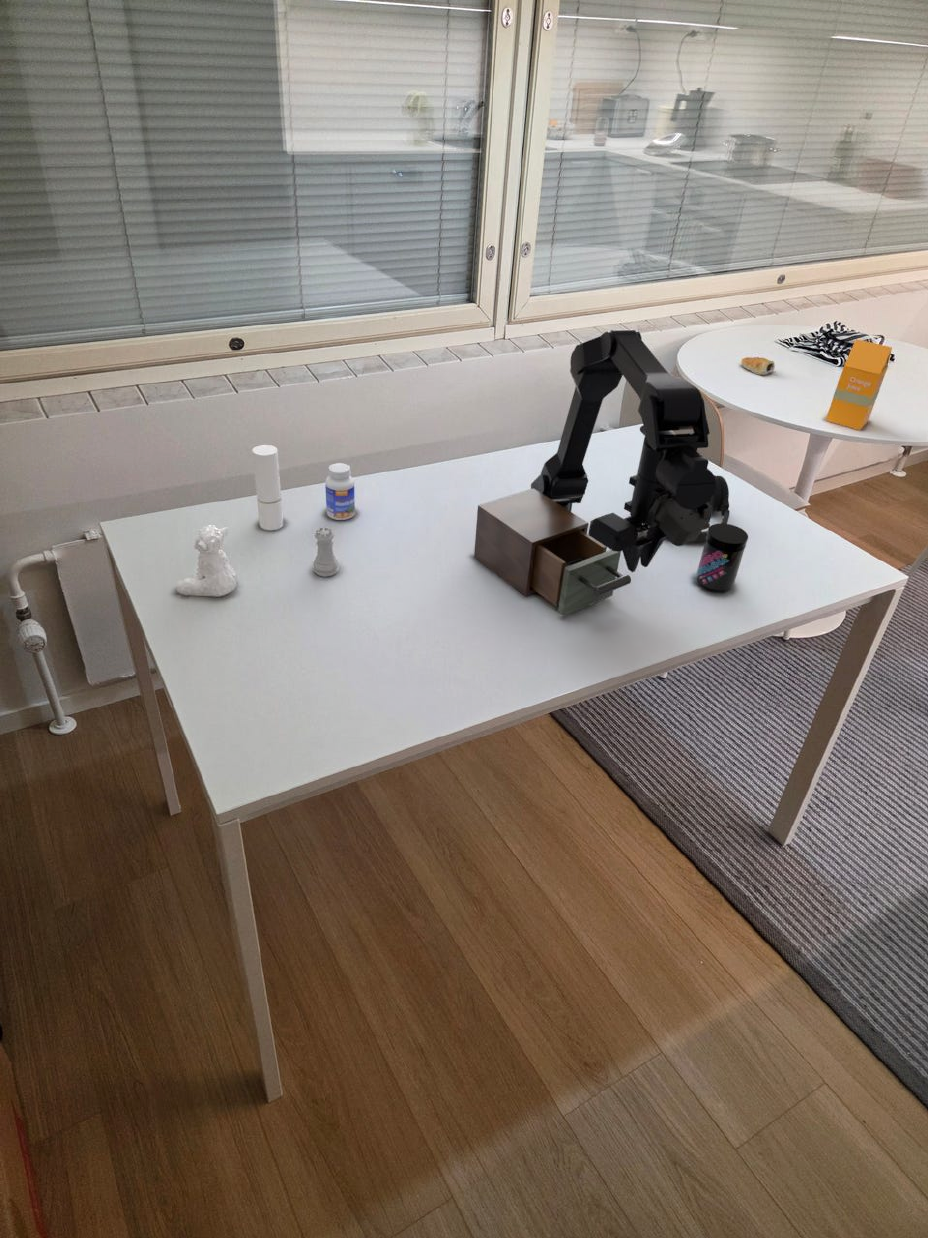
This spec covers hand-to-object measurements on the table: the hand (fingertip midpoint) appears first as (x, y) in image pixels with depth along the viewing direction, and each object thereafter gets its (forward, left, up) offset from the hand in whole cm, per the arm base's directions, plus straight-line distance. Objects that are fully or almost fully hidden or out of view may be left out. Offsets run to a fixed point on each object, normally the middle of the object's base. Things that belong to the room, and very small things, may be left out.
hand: (637, 568), depth 126 cm
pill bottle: (+19, -57, -13) cm, 62 cm away
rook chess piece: (+31, -41, -13) cm, 53 cm away
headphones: (-38, -21, -13) cm, 45 cm away
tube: (+32, -60, -13) cm, 69 cm away
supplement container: (-25, -2, -13) cm, 28 cm away
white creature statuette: (+49, -46, -13) cm, 69 cm away
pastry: (-126, -70, -13) cm, 145 cm away
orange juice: (-116, -34, -13) cm, 122 cm away
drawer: (0, -13, -12) cm, 18 cm away
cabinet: (0, -24, -13) cm, 27 cm away
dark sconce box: (0, -14, -11) cm, 18 cm away
